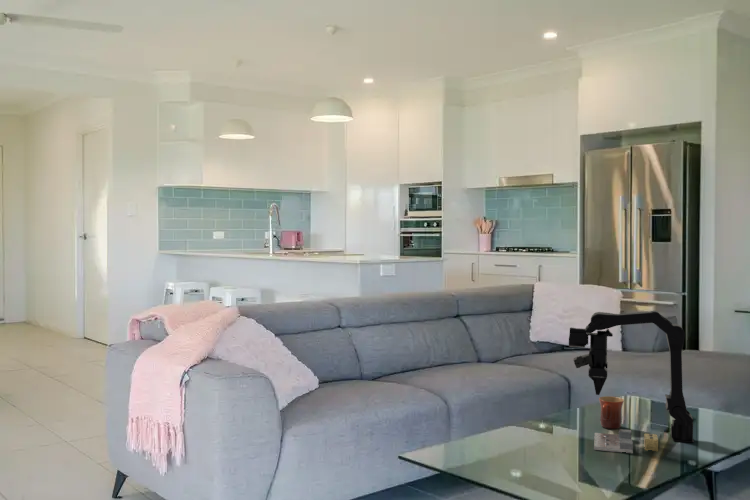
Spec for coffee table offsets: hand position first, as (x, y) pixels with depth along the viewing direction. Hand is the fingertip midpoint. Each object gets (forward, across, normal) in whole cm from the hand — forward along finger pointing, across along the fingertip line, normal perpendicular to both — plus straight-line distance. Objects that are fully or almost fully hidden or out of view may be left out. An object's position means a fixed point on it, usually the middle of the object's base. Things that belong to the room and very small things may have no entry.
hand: (597, 391), depth 261 cm
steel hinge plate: (+15, +13, +5) cm, 20 cm away
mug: (+15, -7, +4) cm, 17 cm away
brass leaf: (+15, +13, +17) cm, 26 cm away
